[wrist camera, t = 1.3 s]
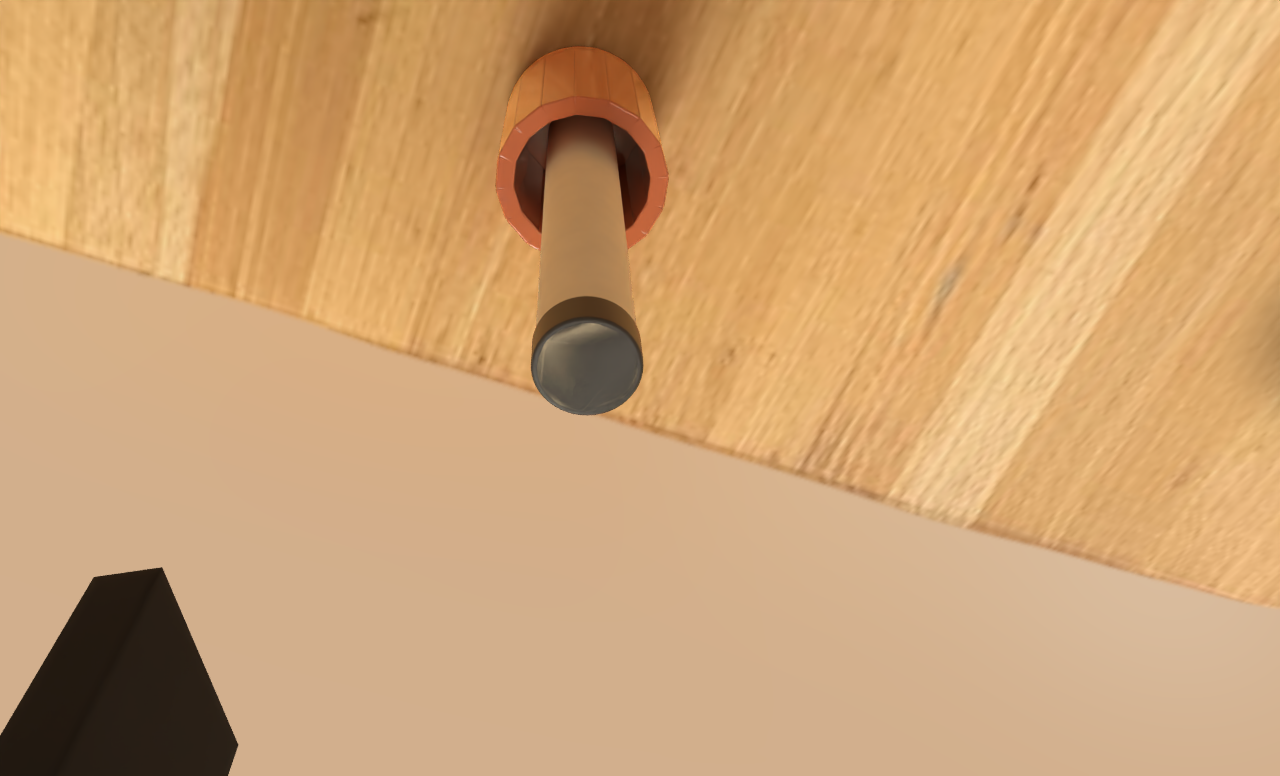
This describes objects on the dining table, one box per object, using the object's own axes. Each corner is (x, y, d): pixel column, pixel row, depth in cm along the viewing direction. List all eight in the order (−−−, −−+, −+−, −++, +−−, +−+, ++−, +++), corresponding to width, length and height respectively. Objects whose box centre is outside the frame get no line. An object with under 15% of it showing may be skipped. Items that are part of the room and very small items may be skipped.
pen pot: (476, 107, 35) (460, 168, 30) (592, 14, 34) (597, 61, 28) (569, 217, 37) (568, 292, 31) (682, 132, 36) (701, 196, 30)
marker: (533, 118, 35) (507, 360, 21) (586, 77, 34) (597, 295, 20) (575, 170, 35) (578, 435, 21) (627, 130, 35) (666, 376, 21)
